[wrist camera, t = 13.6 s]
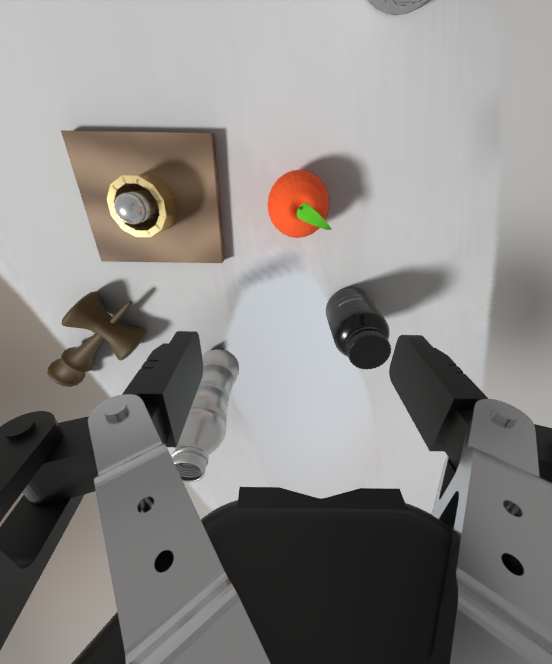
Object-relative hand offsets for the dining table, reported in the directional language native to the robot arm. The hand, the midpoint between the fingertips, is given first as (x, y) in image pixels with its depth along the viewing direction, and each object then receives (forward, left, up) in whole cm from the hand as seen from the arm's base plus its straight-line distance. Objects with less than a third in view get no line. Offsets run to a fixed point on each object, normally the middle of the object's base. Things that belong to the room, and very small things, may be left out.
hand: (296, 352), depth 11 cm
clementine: (-3, +2, -28) cm, 29 cm away
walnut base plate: (-3, -16, -28) cm, 32 cm away
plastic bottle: (+21, -10, -28) cm, 37 cm away
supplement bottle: (+11, +10, -28) cm, 32 cm away
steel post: (-3, -16, -27) cm, 31 cm away
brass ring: (-3, -16, -27) cm, 31 cm away
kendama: (+16, -28, -29) cm, 43 cm away
